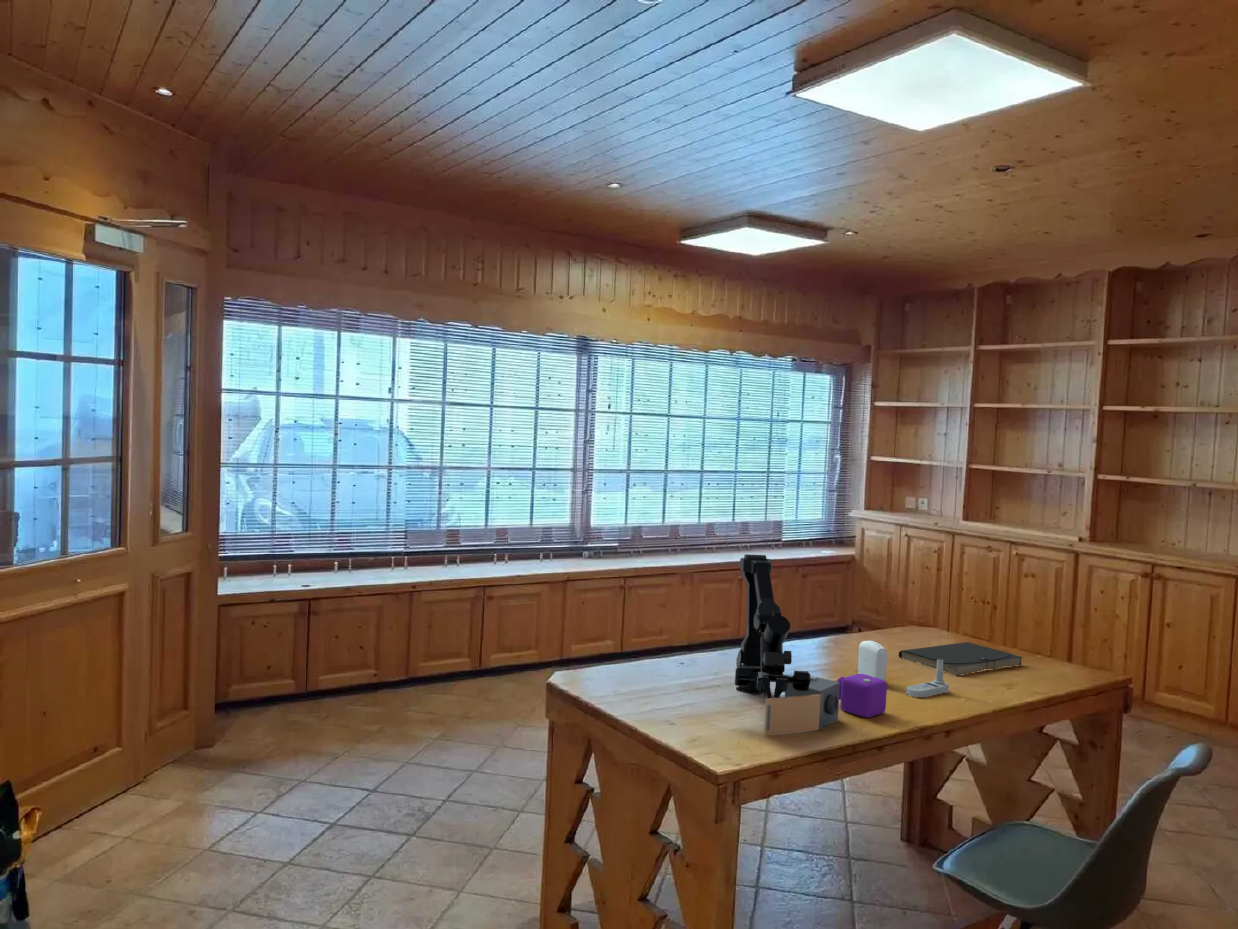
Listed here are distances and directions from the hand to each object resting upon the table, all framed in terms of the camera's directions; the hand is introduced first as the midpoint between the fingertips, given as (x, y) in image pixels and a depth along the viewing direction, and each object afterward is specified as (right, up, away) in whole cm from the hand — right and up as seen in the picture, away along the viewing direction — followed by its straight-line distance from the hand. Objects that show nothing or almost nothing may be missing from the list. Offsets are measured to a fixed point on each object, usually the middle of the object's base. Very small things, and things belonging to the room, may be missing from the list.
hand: (772, 709), depth 216 cm
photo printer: (+40, -6, +51) cm, 65 cm away
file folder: (+78, -7, +80) cm, 112 cm away
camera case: (+12, -6, +13) cm, 19 cm away
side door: (+6, -6, +2) cm, 9 cm away
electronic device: (+53, -7, +41) cm, 68 cm away
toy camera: (+27, -7, +22) cm, 36 cm away
